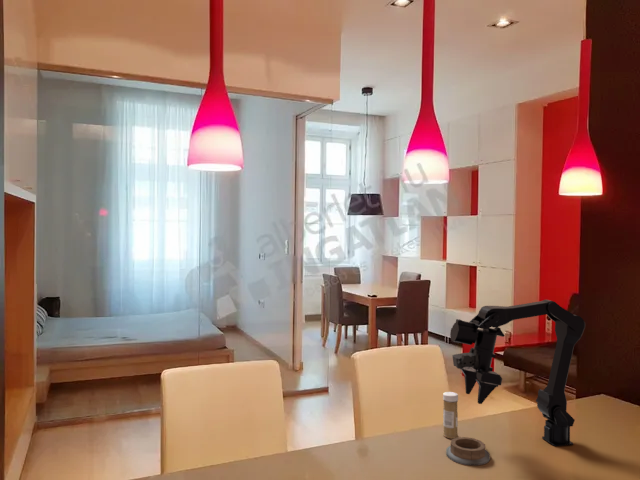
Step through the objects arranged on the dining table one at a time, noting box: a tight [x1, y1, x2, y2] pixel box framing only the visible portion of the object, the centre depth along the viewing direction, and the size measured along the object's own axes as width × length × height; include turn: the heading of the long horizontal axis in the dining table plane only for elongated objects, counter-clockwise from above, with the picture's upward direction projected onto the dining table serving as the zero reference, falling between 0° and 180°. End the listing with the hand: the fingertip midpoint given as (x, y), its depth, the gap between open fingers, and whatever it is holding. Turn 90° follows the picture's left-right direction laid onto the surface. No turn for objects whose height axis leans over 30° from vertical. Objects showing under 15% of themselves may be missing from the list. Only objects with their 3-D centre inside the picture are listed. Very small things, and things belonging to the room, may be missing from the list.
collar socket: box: [445, 436, 491, 466], centre depth 146 cm, size 12×12×4 cm
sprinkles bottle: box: [442, 391, 459, 439], centre depth 160 cm, size 5×5×14 cm
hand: (473, 398), depth 154 cm, fingers open, 9 cm apart
